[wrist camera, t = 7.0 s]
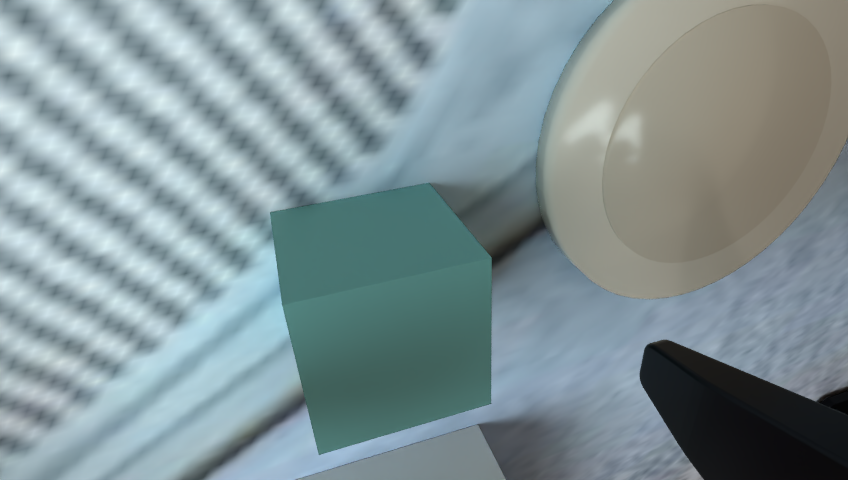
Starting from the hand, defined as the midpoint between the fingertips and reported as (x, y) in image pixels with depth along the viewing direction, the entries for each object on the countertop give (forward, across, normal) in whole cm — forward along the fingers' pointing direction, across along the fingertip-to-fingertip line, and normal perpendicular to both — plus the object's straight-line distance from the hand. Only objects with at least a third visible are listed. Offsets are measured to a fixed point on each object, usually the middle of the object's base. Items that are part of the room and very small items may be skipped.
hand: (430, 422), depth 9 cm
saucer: (+6, -10, -2) cm, 12 cm away
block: (+6, 0, 0) cm, 6 cm away
